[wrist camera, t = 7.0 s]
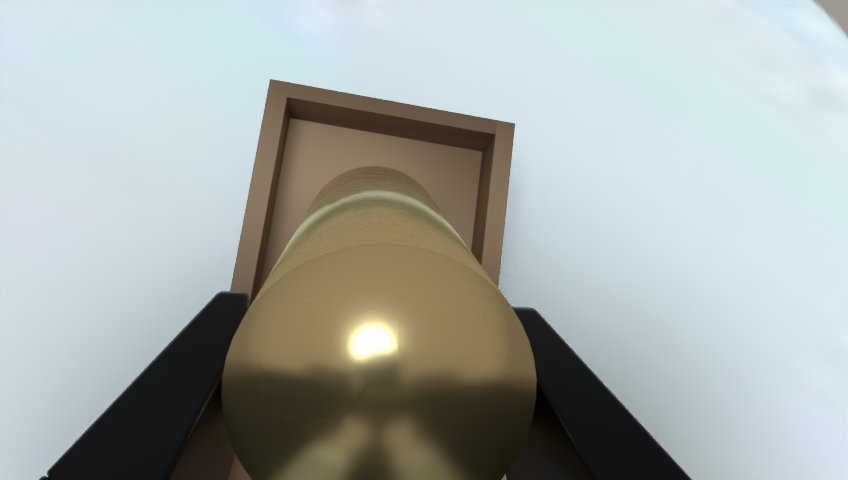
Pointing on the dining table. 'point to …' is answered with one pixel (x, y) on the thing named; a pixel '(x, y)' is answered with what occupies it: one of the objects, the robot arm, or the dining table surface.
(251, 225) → the brown wooden tray
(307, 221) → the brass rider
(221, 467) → the robot arm
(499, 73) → the dining table surface
